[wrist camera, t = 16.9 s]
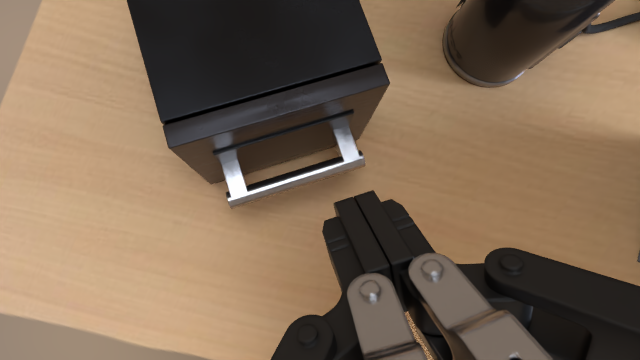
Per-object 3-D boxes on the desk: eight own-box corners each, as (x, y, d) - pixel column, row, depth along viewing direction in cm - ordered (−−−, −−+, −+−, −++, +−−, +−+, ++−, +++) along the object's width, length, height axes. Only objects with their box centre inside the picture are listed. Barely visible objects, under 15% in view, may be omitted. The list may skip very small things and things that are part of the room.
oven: (352, 122, 39) (382, 59, 26) (206, 166, 37) (160, 122, 24) (297, -31, 42) (299, -156, 29) (157, 3, 40) (94, -114, 27)
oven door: (371, 173, 38) (410, 133, 25) (221, 221, 36) (184, 204, 24) (353, 124, 39) (382, 62, 26) (206, 169, 37) (161, 125, 24)
